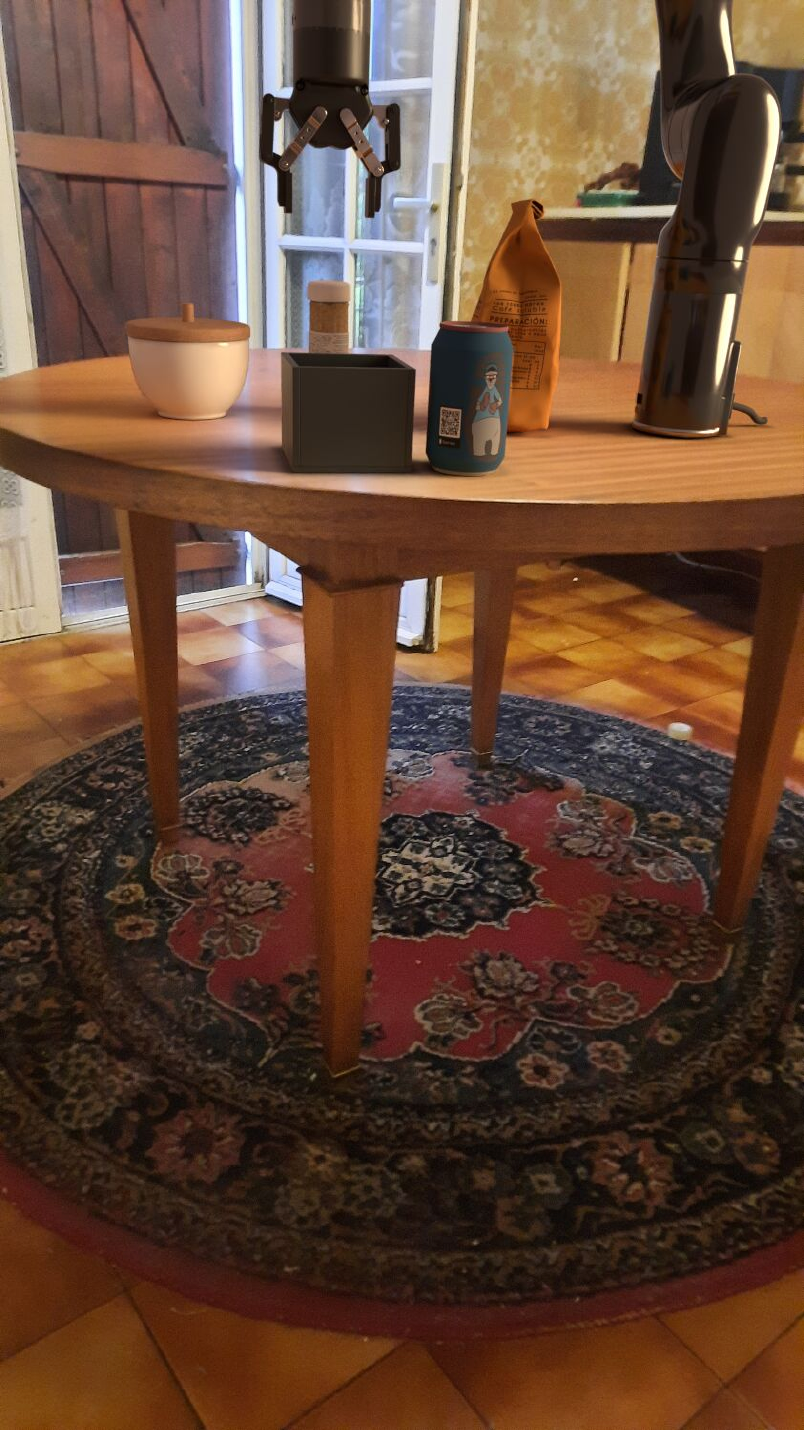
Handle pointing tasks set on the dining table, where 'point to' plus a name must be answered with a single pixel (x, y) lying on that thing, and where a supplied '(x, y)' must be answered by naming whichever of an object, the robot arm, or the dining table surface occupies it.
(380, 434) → the storage bin
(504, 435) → the soda can
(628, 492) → the dining table surface
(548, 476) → the dining table surface
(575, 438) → the dining table surface
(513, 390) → the coffee package
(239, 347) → the lidded bowl
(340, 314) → the sprinkles bottle
